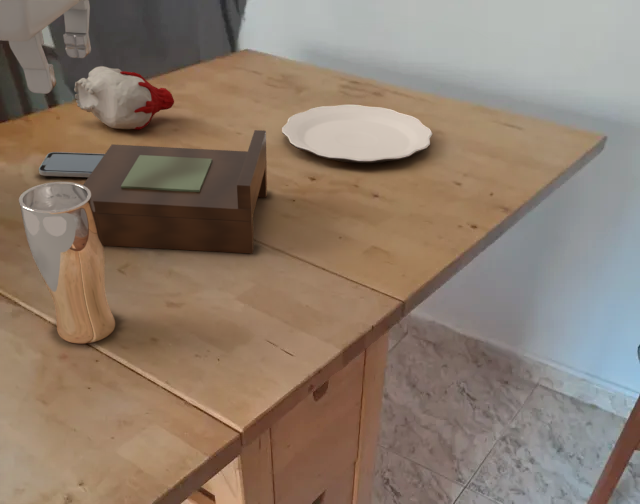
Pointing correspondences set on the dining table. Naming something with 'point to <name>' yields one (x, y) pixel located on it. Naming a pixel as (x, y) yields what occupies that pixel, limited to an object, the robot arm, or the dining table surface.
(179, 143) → the dining table surface
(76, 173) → the smartphone
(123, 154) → the shelf
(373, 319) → the dining table surface
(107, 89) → the white irregular lump
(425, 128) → the plate
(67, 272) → the beer glass
